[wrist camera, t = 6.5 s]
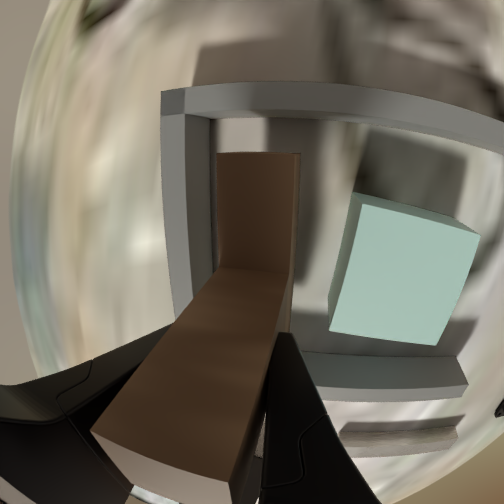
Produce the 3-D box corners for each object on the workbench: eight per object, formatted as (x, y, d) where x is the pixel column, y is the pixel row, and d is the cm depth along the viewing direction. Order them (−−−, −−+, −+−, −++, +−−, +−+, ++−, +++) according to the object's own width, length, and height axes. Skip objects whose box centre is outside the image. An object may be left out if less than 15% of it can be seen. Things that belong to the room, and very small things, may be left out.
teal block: (450, 216, 13) (480, 235, 9) (418, 310, 15) (435, 345, 12) (351, 190, 13) (362, 203, 10) (327, 294, 16) (328, 330, 13)
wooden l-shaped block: (300, 153, 11) (198, 175, 2) (286, 356, 14) (239, 540, 5) (241, 151, 11) (0, 192, 2) (242, 350, 15) (168, 520, 6)
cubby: (507, 136, 10) (537, 138, 7) (449, 368, 15) (460, 397, 13) (188, 99, 13) (160, 91, 11) (202, 349, 19) (185, 377, 16)
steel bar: (454, 422, 18) (458, 438, 16) (445, 434, 18) (448, 449, 16) (339, 428, 20) (338, 447, 18) (334, 439, 21) (333, 457, 19)
